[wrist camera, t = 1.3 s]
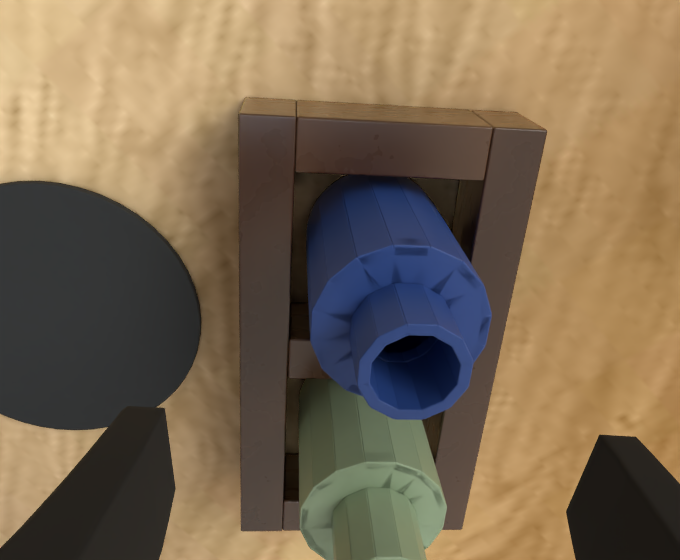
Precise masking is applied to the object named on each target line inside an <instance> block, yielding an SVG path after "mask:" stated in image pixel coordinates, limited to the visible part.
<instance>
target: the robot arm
mask: <svg viewBox="0 0 680 560" xmlns="http://www.w3.org/2000/svg"><path fill="white" fill-rule="evenodd" d="M174 493H175V481H174V474H173V466H172V459H171V451H170V444H169V436H168V429H167V421H166V414H165V408H154V407H138V406H127V407H126V408H124V409H123V410H122V411H121V412H120V413H119V414H118V416H117V417H116V418H115V419H114V421H113V422H112V423H111V424H110V426H109V427H108V428H107V429H106V430H105V432H104V433H103V434H102V435H101V437H100V438H99V439H98V440H97V441H96V443H95V444H94V445H93V446H92V448H91V449H90V450H89V451H88V452H87V453H86V455H85V456H84V457H83V458H82V459H81V461H80V462H79V463H78V464H77V465H76V466H75V468H74V469H73V470H72V471H71V472H70V473H69V475H68V476H67V477H66V478H65V479H64V480H63V481H62V482H61V484H60V485H59V486H58V487H57V488H56V489H55V490H54V491H53V492H52V494H51V495H50V496H49V497H48V498H47V499H46V500H45V501H44V502H43V504H42V505H41V506H40V507H39V508H38V509H37V510H36V511H35V512H34V514H33V515H32V516H31V517H30V518H29V519H28V520H27V521H26V522H25V523H24V524H23V525H22V527H21V528H20V529H19V530H18V531H17V532H16V533H15V534H14V535H13V536H12V537H11V538H10V539H9V540H8V541H7V542H6V543H5V544H4V545H3V546H2V547H1V548H0V560H159V557H160V554H161V551H162V548H163V543H164V539H165V534H166V530H167V526H168V521H169V517H170V512H171V507H172V502H173V498H174ZM566 514H567V519H568V524H569V529H570V534H571V539H572V544H573V549H574V553H575V558H576V560H680V484H679V483H678V481H677V480H676V479H675V478H674V477H673V476H672V475H671V474H670V473H669V472H668V471H667V469H666V468H665V467H664V466H663V465H662V464H661V463H660V462H659V461H658V460H657V459H656V458H655V456H654V455H653V454H652V453H651V452H650V451H649V450H648V449H647V448H646V447H645V446H644V445H643V444H642V443H641V442H640V441H639V440H638V439H637V438H636V437H629V436H612V435H599V437H598V440H597V442H596V444H595V446H594V449H593V451H592V453H591V456H590V458H589V460H588V462H587V465H586V467H585V469H584V472H583V474H582V476H581V478H580V481H579V483H578V485H577V488H576V490H575V492H574V495H573V497H572V499H571V501H570V504H569V506H568V508H567V511H566Z"/></svg>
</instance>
